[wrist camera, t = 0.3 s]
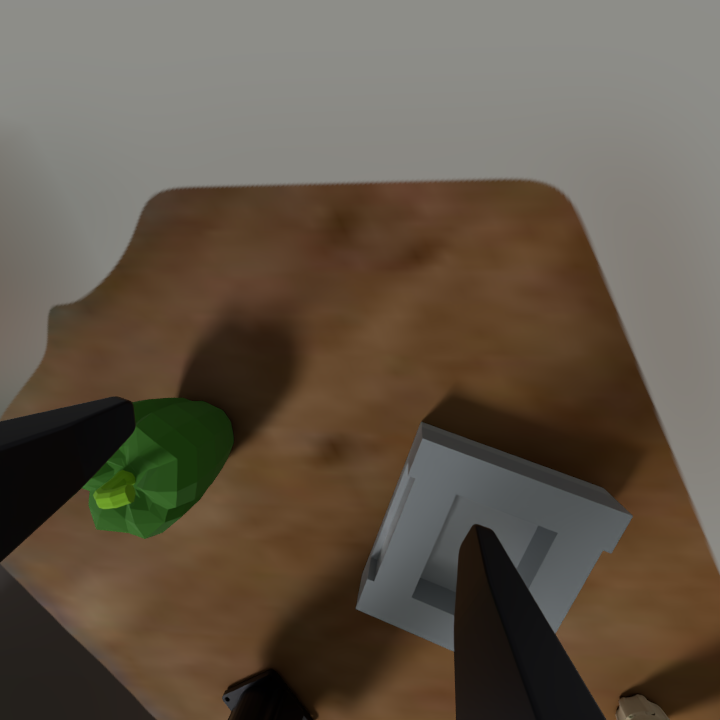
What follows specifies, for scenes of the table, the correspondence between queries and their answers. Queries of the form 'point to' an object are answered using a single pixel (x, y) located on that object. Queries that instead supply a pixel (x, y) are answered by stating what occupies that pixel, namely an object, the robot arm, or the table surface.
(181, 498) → the bell pepper
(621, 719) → the handle
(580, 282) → the table surface
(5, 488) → the robot arm
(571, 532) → the block
